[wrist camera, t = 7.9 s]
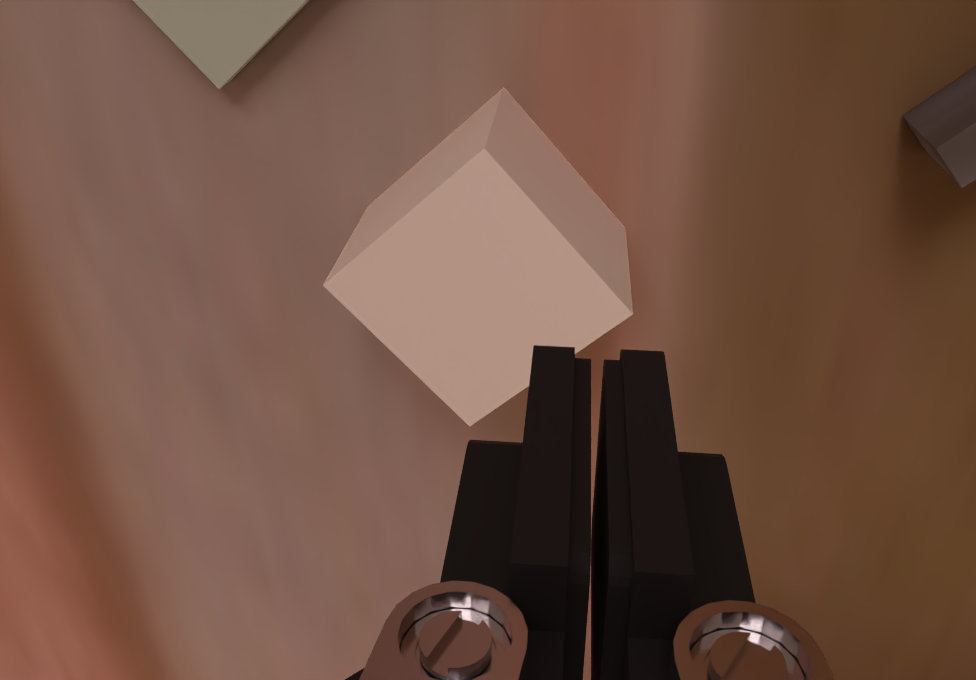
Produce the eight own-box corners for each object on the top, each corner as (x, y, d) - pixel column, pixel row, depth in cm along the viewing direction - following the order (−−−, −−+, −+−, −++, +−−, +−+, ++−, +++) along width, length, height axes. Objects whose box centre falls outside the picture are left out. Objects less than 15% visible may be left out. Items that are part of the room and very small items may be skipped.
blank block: (368, 204, 25) (322, 285, 21) (504, 85, 23) (484, 148, 19) (489, 327, 27) (469, 426, 22) (625, 226, 25) (633, 314, 20)
